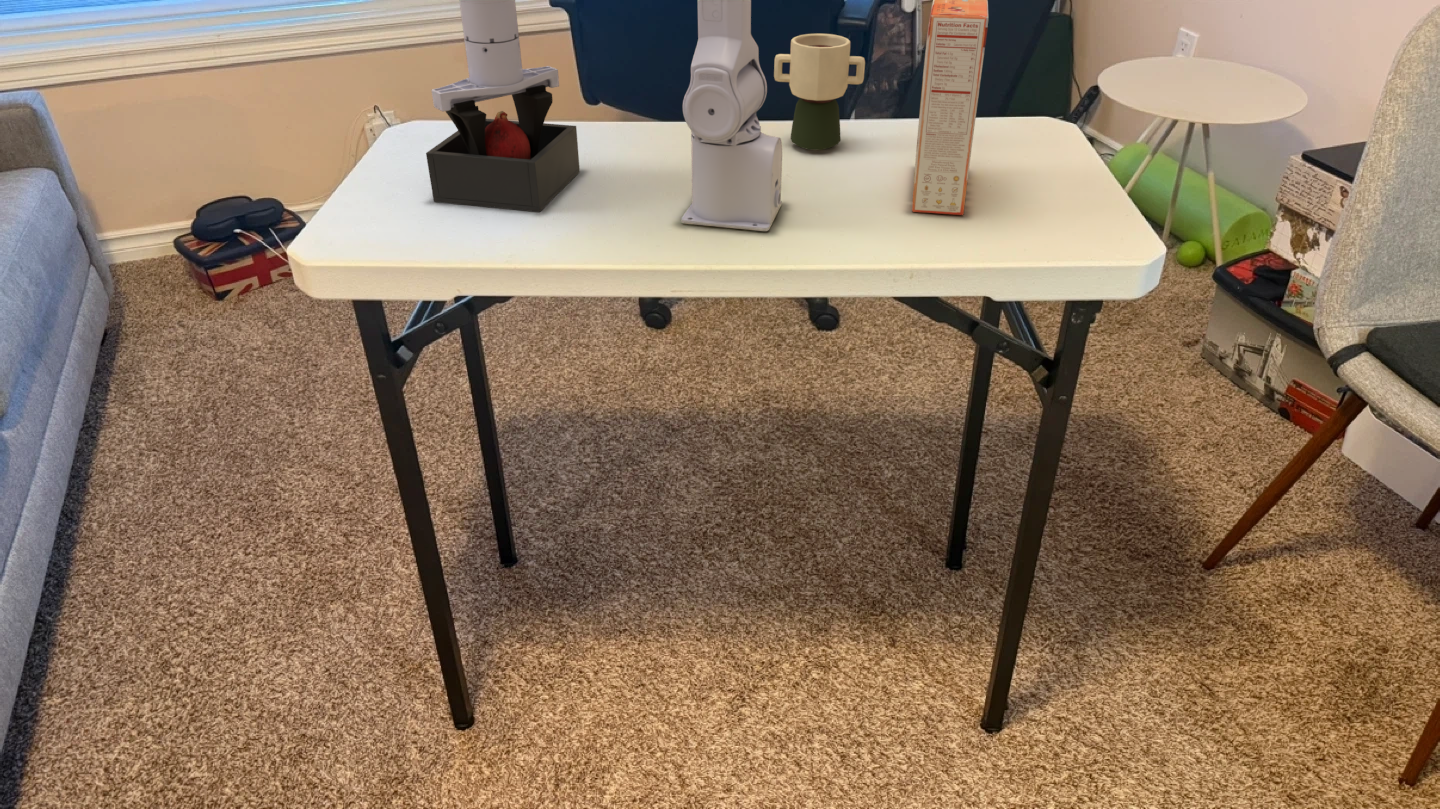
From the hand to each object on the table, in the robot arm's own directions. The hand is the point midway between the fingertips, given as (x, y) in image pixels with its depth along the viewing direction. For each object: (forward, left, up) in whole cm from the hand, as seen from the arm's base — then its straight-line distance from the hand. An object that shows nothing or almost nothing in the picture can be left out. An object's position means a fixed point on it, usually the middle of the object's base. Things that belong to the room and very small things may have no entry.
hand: (506, 161), depth 115 cm
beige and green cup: (-32, -22, -3) cm, 39 cm away
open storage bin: (0, 0, -3) cm, 3 cm away
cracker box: (-48, -10, -3) cm, 49 cm away
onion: (0, 0, -3) cm, 3 cm away
